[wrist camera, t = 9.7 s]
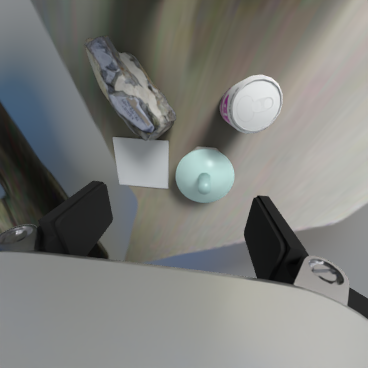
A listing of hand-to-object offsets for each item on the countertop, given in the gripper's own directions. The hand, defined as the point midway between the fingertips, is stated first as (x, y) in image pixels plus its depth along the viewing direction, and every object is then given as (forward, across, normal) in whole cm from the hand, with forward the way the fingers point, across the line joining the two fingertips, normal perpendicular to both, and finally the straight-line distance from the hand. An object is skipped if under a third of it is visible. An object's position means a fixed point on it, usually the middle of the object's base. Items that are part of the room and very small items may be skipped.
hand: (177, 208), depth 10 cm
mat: (+34, +14, +10) cm, 38 cm away
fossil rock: (+34, +13, -8) cm, 37 cm away
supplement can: (+34, -9, -6) cm, 36 cm away
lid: (+28, -3, +10) cm, 30 cm away
